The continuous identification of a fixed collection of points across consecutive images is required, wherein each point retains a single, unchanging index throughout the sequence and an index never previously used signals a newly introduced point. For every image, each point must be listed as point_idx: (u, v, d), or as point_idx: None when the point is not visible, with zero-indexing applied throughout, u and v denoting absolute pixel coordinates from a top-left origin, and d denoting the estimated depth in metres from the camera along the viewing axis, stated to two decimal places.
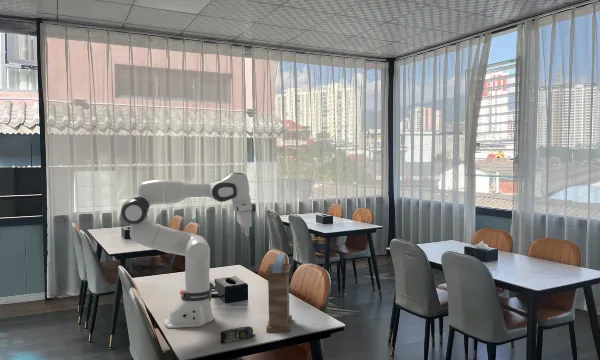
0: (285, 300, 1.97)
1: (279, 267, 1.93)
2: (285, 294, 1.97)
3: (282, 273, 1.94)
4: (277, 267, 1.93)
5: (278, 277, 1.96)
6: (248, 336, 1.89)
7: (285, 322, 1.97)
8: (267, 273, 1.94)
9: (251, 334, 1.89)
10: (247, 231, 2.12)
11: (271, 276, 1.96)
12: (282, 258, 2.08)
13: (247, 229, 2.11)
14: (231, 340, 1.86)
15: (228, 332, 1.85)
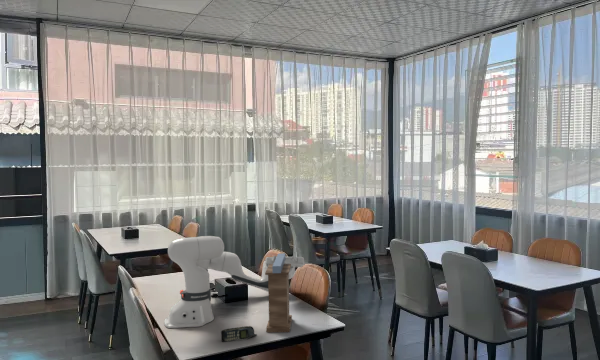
0: (285, 300, 1.97)
1: (279, 267, 1.93)
2: (285, 294, 1.97)
3: (282, 273, 1.94)
4: (277, 267, 1.93)
5: (278, 277, 1.96)
6: (249, 336, 1.89)
7: (285, 322, 1.97)
8: (267, 273, 1.94)
9: (252, 334, 1.89)
10: (273, 258, 2.34)
11: (271, 276, 1.96)
12: (282, 258, 2.08)
13: (272, 259, 2.35)
14: (232, 339, 1.87)
15: (228, 331, 1.86)
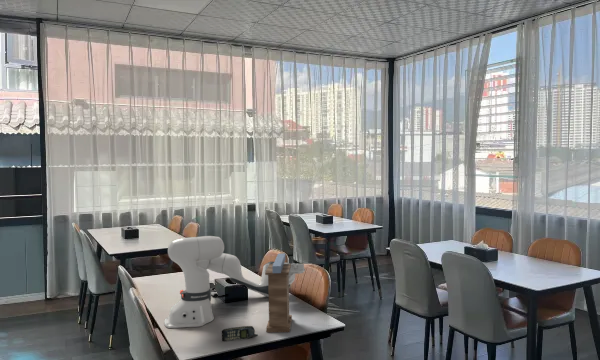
0: (285, 300, 1.97)
1: (279, 267, 1.93)
2: (285, 294, 1.97)
3: (282, 273, 1.94)
4: (277, 267, 1.93)
5: (278, 277, 1.96)
6: (249, 336, 1.89)
7: (285, 322, 1.97)
8: (267, 273, 1.94)
9: (252, 334, 1.89)
10: None
11: (271, 276, 1.96)
12: (282, 258, 2.08)
13: None
14: (232, 339, 1.87)
15: (229, 330, 1.87)
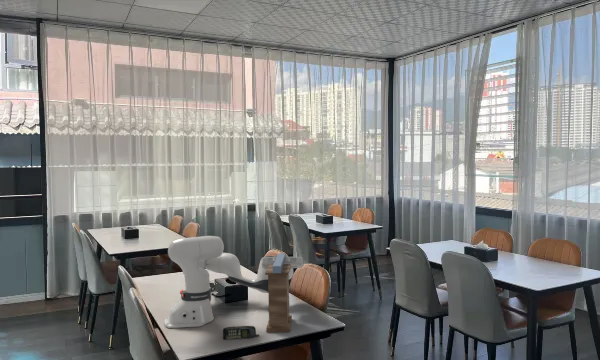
0: (285, 300, 1.97)
1: (279, 267, 1.93)
2: (285, 294, 1.97)
3: (282, 273, 1.94)
4: (277, 267, 1.93)
5: (278, 277, 1.96)
6: (250, 336, 1.89)
7: (285, 322, 1.97)
8: (267, 273, 1.94)
9: (253, 334, 1.90)
10: (274, 258, 2.17)
11: (271, 276, 1.96)
12: (282, 258, 2.08)
13: (273, 259, 2.18)
14: (233, 338, 1.89)
15: (230, 329, 1.89)
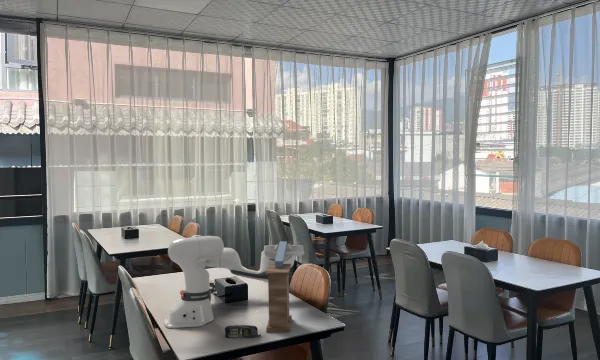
0: (285, 300, 1.97)
1: (281, 262, 2.03)
2: (285, 294, 1.97)
3: (282, 273, 1.94)
4: (279, 262, 2.03)
5: (278, 277, 1.96)
6: (251, 335, 1.89)
7: (285, 322, 1.97)
8: (267, 273, 1.94)
9: (255, 334, 1.89)
10: (276, 246, 2.27)
11: (271, 276, 1.96)
12: (284, 249, 2.17)
13: (275, 247, 2.28)
14: (235, 336, 1.90)
15: (232, 328, 1.90)
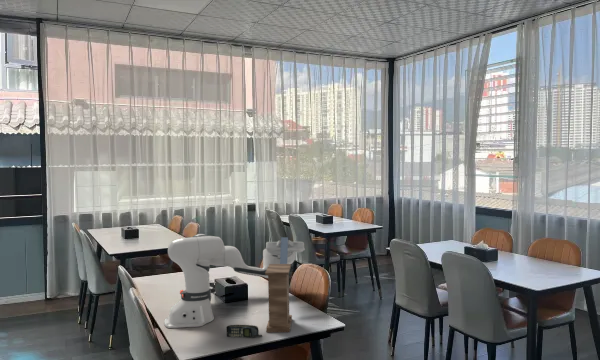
0: (285, 300, 1.97)
1: None
2: (285, 294, 1.97)
3: (282, 273, 1.94)
4: None
5: (278, 277, 1.96)
6: (252, 335, 1.89)
7: (285, 322, 1.97)
8: (267, 273, 1.94)
9: (255, 334, 1.89)
10: (277, 243, 2.37)
11: (271, 276, 1.96)
12: (286, 256, 2.29)
13: (277, 243, 2.38)
14: (236, 336, 1.91)
15: (233, 327, 1.91)
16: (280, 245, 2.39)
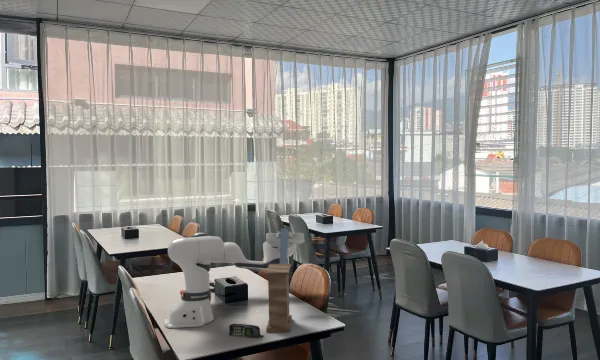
0: (285, 300, 1.97)
1: None
2: (285, 294, 1.97)
3: (282, 273, 1.94)
4: None
5: (278, 277, 1.96)
6: (253, 335, 1.90)
7: (285, 322, 1.97)
8: (267, 273, 1.94)
9: (256, 334, 1.89)
10: (277, 234, 2.37)
11: (271, 276, 1.96)
12: (286, 248, 2.31)
13: (276, 234, 2.38)
14: (238, 335, 1.92)
15: (235, 326, 1.92)
16: (280, 236, 2.39)
